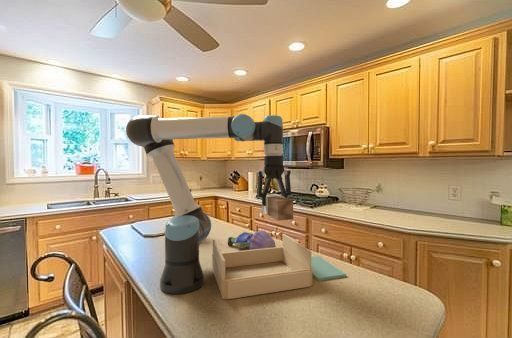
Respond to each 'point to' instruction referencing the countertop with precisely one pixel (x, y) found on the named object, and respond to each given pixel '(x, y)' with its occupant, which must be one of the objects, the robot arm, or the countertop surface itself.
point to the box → (279, 207)
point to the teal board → (324, 269)
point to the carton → (266, 283)
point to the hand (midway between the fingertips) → (274, 213)
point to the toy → (253, 240)
